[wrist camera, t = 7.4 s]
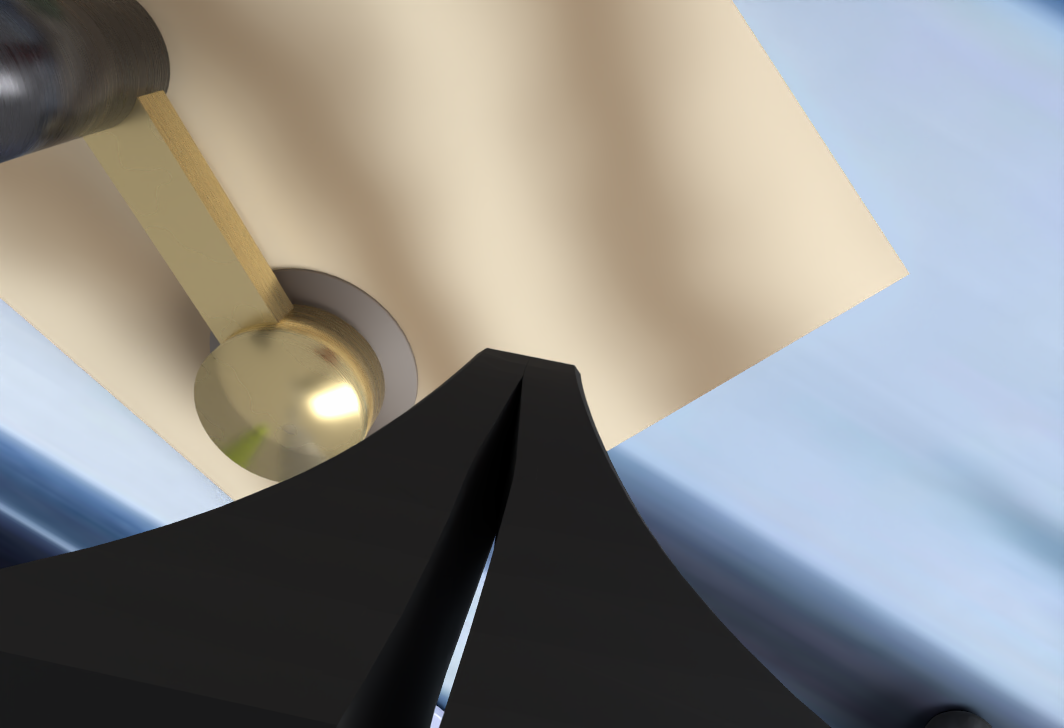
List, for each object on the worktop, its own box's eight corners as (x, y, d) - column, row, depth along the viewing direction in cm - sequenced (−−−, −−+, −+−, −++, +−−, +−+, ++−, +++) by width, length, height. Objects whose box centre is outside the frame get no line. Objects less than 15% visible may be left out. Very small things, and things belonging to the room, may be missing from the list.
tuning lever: (412, 418, 21) (343, 556, 16) (285, 457, 22) (186, 596, 17) (27, -257, 14) (-285, -368, 9) (-121, -145, 16) (-461, -193, 11)
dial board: (359, 580, 26) (348, 606, 25) (-186, 97, 20) (-232, 105, 19) (896, 258, 18) (912, 276, 17) (269, -707, 12) (233, -770, 11)
